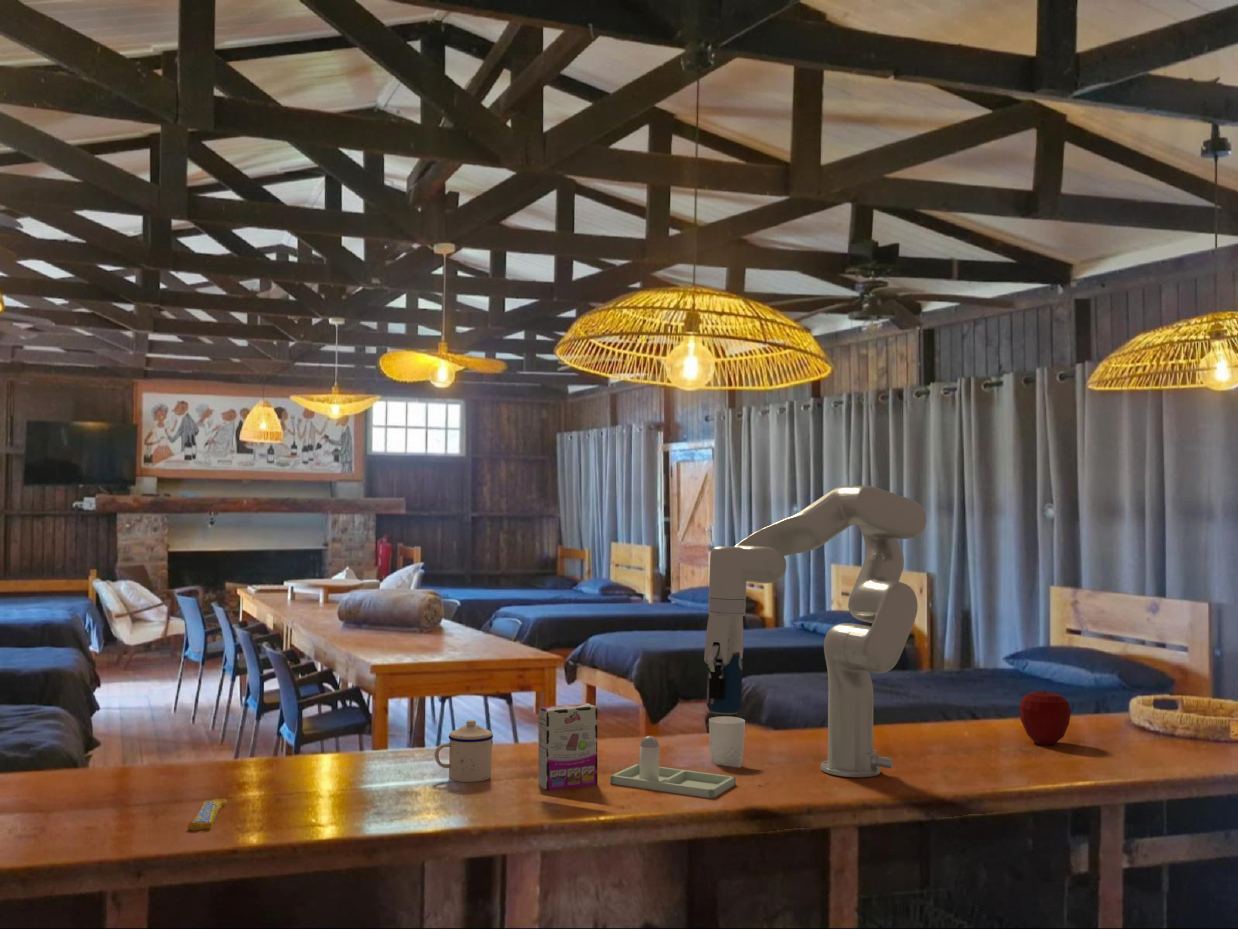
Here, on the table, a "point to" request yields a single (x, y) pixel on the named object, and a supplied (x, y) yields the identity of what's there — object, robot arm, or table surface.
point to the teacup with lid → (468, 753)
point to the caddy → (676, 781)
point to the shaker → (649, 759)
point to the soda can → (728, 689)
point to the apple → (1045, 716)
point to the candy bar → (207, 814)
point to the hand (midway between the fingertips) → (724, 695)
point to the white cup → (726, 740)
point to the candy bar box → (567, 746)
